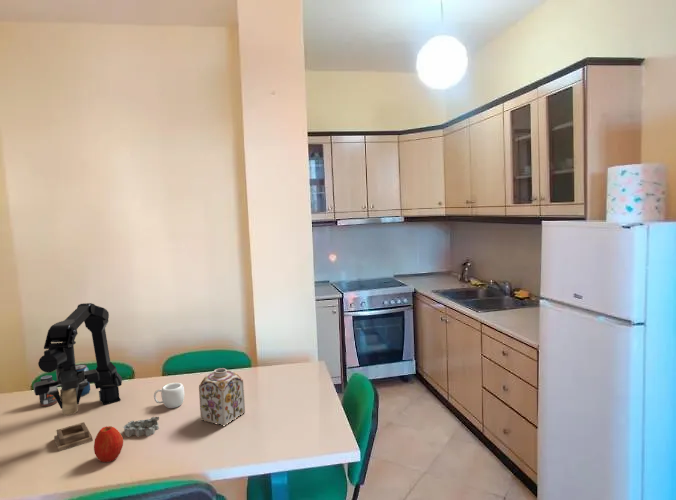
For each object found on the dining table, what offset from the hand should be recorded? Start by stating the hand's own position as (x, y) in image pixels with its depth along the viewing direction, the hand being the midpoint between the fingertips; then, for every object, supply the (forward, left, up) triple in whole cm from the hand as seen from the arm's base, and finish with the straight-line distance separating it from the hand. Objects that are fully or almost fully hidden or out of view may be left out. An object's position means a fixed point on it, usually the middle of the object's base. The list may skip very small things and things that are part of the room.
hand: (69, 406), depth 156 cm
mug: (-34, -5, -12) cm, 37 cm away
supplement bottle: (+3, -40, -12) cm, 42 cm away
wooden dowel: (0, 0, -2) cm, 2 cm away
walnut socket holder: (0, 0, -12) cm, 12 cm away
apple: (-7, +21, -12) cm, 25 cm away
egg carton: (-20, +10, -13) cm, 25 cm away
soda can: (-9, -42, -12) cm, 45 cm away
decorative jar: (-46, +19, -12) cm, 51 cm away
